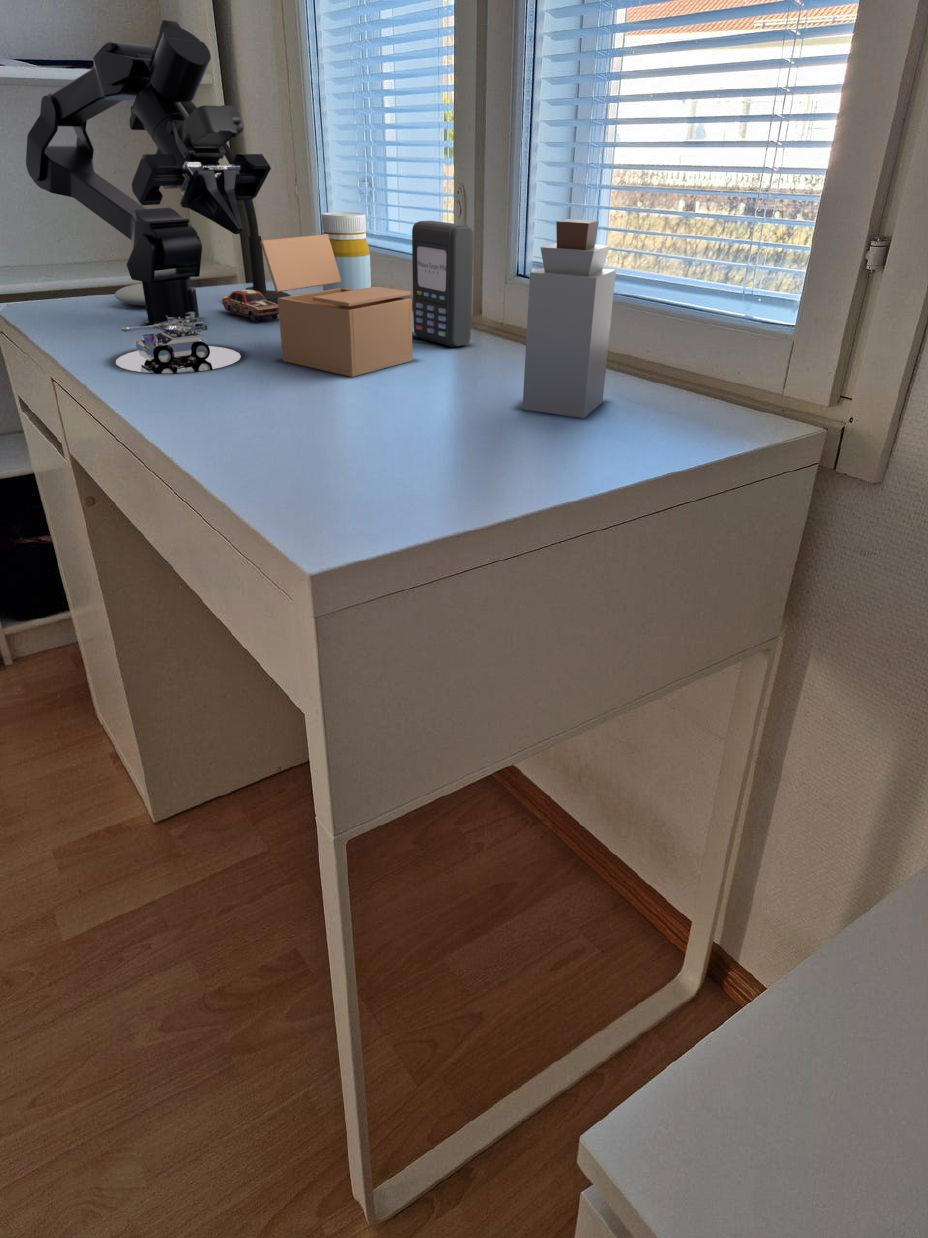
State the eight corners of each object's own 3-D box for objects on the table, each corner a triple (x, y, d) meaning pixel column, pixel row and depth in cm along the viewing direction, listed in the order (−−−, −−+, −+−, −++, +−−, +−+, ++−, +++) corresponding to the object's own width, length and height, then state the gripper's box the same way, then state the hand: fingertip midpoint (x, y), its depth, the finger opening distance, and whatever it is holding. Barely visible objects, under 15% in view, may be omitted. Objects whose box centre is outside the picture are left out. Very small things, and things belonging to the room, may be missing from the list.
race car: (254, 319, 135) (248, 288, 133) (284, 319, 126) (278, 286, 124) (225, 322, 133) (219, 291, 131) (253, 322, 123) (247, 289, 122)
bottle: (376, 320, 128) (372, 212, 121) (367, 329, 122) (362, 216, 115) (331, 319, 129) (325, 211, 121) (320, 328, 123) (312, 215, 115)
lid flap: (277, 291, 101) (275, 292, 101) (341, 281, 108) (339, 282, 108) (262, 240, 99) (260, 241, 99) (328, 233, 106) (325, 234, 107)
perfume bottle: (602, 402, 91) (621, 220, 82) (583, 418, 86) (601, 225, 77) (544, 394, 94) (556, 216, 85) (522, 409, 88) (532, 221, 79)
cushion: (207, 300, 141) (205, 281, 139) (165, 312, 131) (161, 292, 129) (146, 295, 144) (143, 276, 142) (100, 307, 134) (96, 287, 132)
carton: (282, 361, 105) (276, 290, 101) (344, 346, 112) (341, 280, 108) (352, 377, 99) (348, 302, 94) (412, 360, 106) (411, 291, 102)
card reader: (409, 337, 118) (407, 220, 111) (431, 334, 120) (430, 219, 113) (450, 349, 112) (451, 226, 105) (473, 345, 115) (475, 225, 107)
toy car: (100, 353, 106) (91, 309, 103) (213, 340, 114) (207, 298, 111) (139, 379, 96) (130, 330, 93) (260, 362, 104) (255, 317, 101)
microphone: (263, 284, 156) (245, 95, 141) (302, 304, 139) (286, 91, 124) (199, 288, 152) (173, 92, 137) (231, 309, 134) (205, 88, 119)
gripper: (127, 73, 96) (202, 186, 96) (253, 83, 109) (319, 182, 109) (102, 150, 104) (170, 254, 104) (222, 150, 117) (283, 242, 117)
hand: (239, 231), depth 108 cm, fingers closed
